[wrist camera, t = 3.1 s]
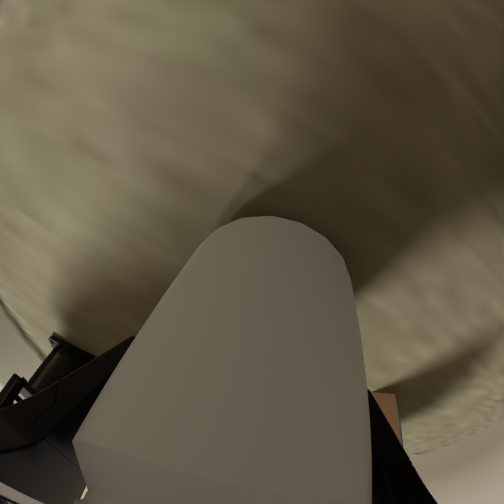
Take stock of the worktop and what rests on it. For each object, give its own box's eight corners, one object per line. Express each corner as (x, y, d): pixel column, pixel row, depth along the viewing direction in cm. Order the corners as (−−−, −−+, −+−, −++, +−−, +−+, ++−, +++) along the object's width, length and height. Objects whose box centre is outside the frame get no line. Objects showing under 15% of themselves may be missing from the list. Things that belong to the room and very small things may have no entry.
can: (217, 182, 12) (-20, 462, 1) (377, 247, 12) (445, 558, 1) (183, 308, 16) (81, 507, 5) (307, 353, 16) (281, 565, 5)
